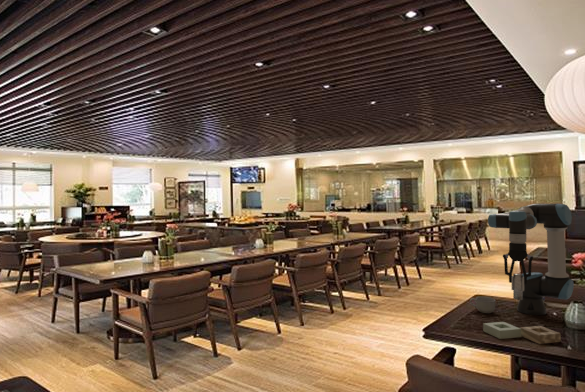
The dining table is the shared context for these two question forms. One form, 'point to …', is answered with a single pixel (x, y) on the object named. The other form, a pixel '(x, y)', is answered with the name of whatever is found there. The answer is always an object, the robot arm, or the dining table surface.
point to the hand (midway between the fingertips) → (517, 289)
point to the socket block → (502, 330)
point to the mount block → (540, 334)
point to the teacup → (484, 304)
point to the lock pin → (517, 287)
